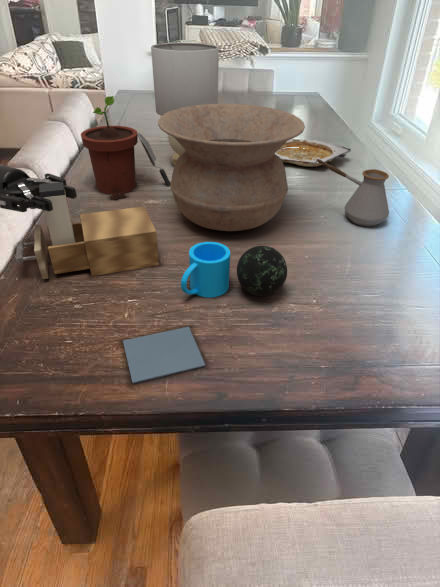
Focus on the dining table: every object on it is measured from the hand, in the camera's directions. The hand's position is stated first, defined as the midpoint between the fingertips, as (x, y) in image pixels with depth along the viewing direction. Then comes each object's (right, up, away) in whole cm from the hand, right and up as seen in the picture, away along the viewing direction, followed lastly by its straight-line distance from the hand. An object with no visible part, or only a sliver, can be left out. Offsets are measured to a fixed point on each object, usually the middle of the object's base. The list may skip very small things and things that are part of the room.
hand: (63, 199), depth 81 cm
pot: (+33, +2, +30) cm, 45 cm away
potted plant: (+2, +14, +45) cm, 47 cm away
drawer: (-3, -11, +10) cm, 15 cm away
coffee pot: (+65, +2, +32) cm, 73 cm away
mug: (+27, -18, +4) cm, 33 cm away
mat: (+21, -29, -11) cm, 37 cm away
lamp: (+20, +27, +63) cm, 71 cm away
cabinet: (+8, -10, +14) cm, 19 cm away
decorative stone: (+39, -18, +4) cm, 43 cm away
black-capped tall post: (-2, -10, +9) cm, 14 cm away
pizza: (+61, +30, +69) cm, 97 cm away
